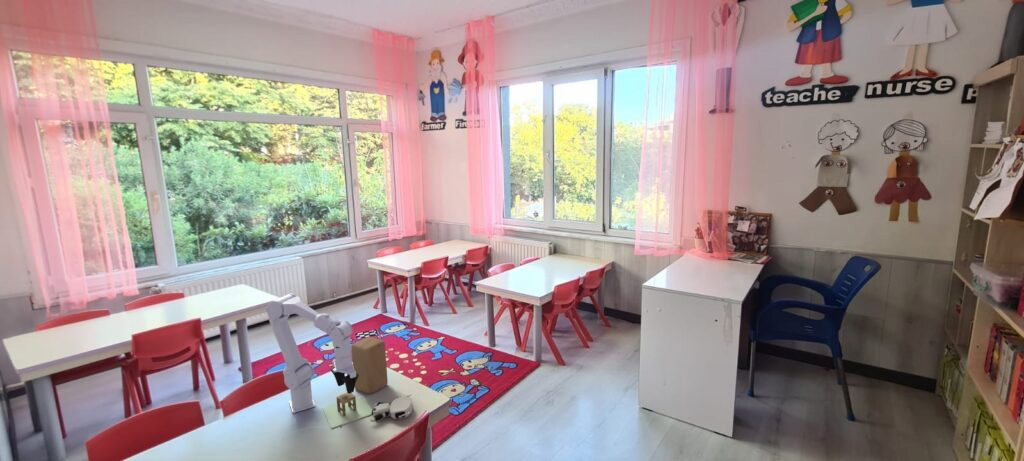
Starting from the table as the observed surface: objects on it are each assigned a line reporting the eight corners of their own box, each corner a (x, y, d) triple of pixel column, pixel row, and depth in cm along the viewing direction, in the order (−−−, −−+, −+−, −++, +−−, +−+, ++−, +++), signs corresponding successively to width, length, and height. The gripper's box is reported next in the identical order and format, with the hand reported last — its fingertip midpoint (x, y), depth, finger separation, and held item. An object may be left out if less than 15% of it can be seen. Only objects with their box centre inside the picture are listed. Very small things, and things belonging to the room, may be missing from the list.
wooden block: (388, 384, 178) (385, 340, 175) (369, 396, 170) (366, 349, 167) (372, 378, 184) (369, 335, 180) (353, 389, 175) (349, 344, 172)
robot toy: (370, 429, 150) (412, 421, 153) (368, 418, 150) (411, 410, 152) (374, 409, 162) (414, 402, 165) (373, 399, 162) (412, 392, 164)
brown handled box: (337, 411, 159) (336, 396, 158) (350, 405, 163) (349, 391, 162) (343, 416, 156) (342, 401, 155) (356, 410, 160) (355, 395, 159)
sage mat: (322, 408, 162) (322, 407, 162) (362, 396, 170) (362, 395, 170) (331, 428, 149) (331, 427, 149) (373, 414, 158) (373, 413, 158)
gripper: (323, 352, 158) (326, 386, 160) (341, 365, 148) (344, 400, 150) (341, 346, 163) (344, 379, 165) (360, 358, 153) (363, 392, 156)
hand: (345, 388), depth 158 cm, fingers open, 7 cm apart
